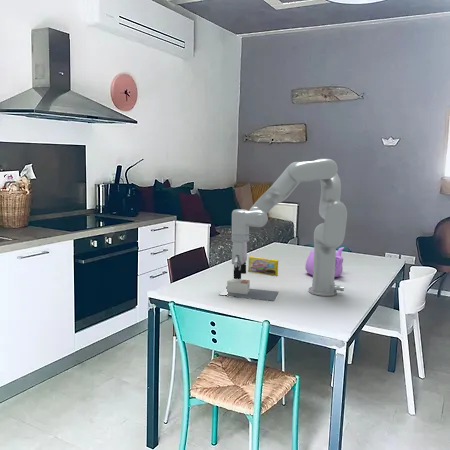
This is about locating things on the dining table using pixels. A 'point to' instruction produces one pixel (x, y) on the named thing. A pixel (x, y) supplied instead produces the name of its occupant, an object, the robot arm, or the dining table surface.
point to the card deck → (238, 286)
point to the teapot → (337, 263)
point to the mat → (257, 294)
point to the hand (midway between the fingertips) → (239, 276)
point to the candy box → (263, 266)
